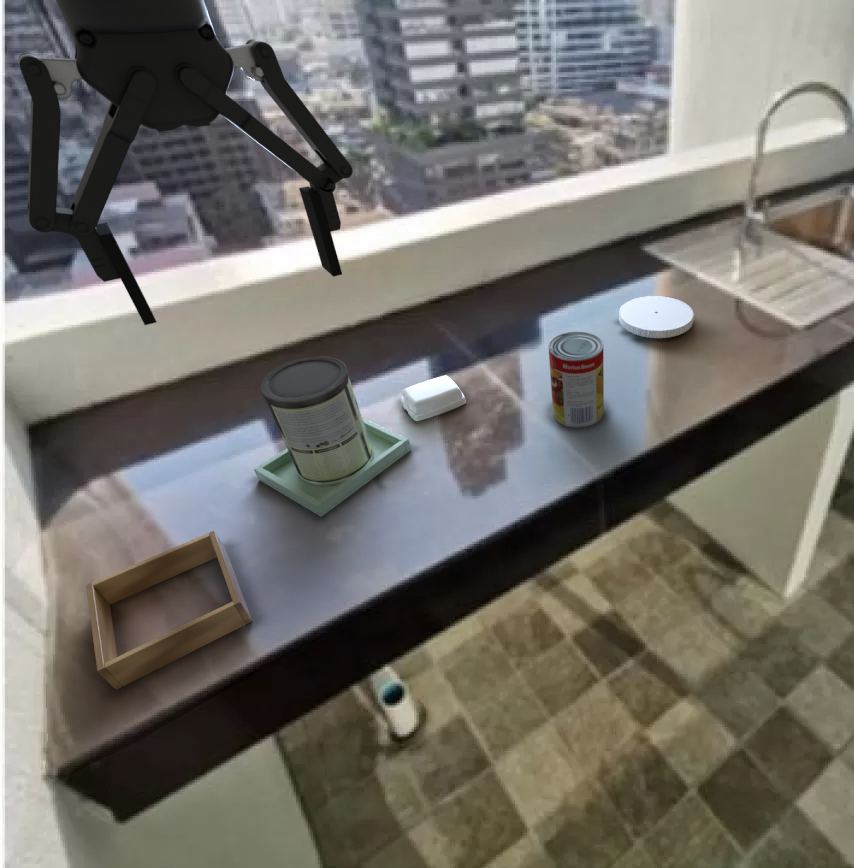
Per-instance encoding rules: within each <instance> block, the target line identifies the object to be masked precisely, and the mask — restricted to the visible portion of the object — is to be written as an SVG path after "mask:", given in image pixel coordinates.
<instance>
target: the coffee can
mask: <svg viewBox="0 0 854 868" xmlns="http://www.w3.org/2000/svg"><path fill="white" fill-rule="evenodd" d="M259 389H260V393H261V395H262V398H263V399H264V400H265V403H266V404H267V406H268V408H269V409H268V410H269V411H270V413H271V415H272V418H273V420H274V422H275V424H276V427H277V429H278V431H279V433H280V435H281V437H282V440H283V442H284V444H285V447H286V449H288V451H289V454H290V456H291V458H292V460H293V463H294V465H295V467H296V469H297V473H298V475H299V477H300V478H301V479H302V480H303V481H304V482H306V483H308V484H311V485H315V486H332V485H336V484H341V483H342V482H344V481H345V480H347V479H348V478H349V477H351V476H352V475H354V474H355V473H356V472H358V471H359V470H360V469H362V468H363V467H365V466H366V465H367V464H369V463H370V462H372V460H373V457H374V451H373V448H372V446H371V444H370V441H369V438H368V434H367V431H366V428H365V425H364V422H363V419H362V418H363V415H362V413H361V410H360V408H359V407H360V406H359V404H358V400H357V397H356V395H355V392H354V389H353V386H352V382H351V379H350V377H349V370H348V366H347V365H346V363H344V362H343V361H342V360H340V359H338V358H335V357H331V356H309V357H303V358H298V359H295V360H291V361H288V362H286V363H283V364H282V365H279V366H277V367H276V368H274V369H273V370H271V371H270V372H269V373H268V374H266V376H264V378H263V379H262V381H261V383H260V385H259Z"/></svg>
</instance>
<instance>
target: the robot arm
mask: <svg viewBox="0 0 854 868" xmlns="http://www.w3.org/2000/svg"><path fill="white" fill-rule="evenodd" d="M55 2H56V4H57V7H58V9H59V10H60V13H61V16H62V18H63V20H64V22H65V24H66V27H67V28H68V31H69V33H70V36H71V37H72V40H73V44H74V48H75V49H74V50H75V54H74V58H69V57H68V58H66V57H65V58H63V57H43V56H41V57H40V56H39V55H36V54H35V53H31V52H23V53H21V54H20V55H19V56H18V58H17V61H18V67H19V69H20V72H21V74H22V77H23V79H24V80H23V81H24V83H25V84H26V87H27V91H28V92H29V95H30V121H29V122H30V123H29V125H30V127H29V155H28V157H29V158H28V184H27V215H28V222H29V225H30V226H31V227H32V228H33V229H34V230H35V231H37V232H40V233H50V232H56V233H64V234H67V235H70V236H72V237H74V238H75V239H76V240H77V241H78V243H79V245H80V247H81V249H82V250H83V252H84V254H85V256H86V258H87V260H88V262H89V264H90V265H91V267H92V269H93V271H94V273H95V274H96V276H97V277H98V278H99V279H100V280H101V281H103V282H104V283H105V282H110V281H114V280H119V279H120V280H121V282H122V284H123V286H124V288H125V290H126V292H127V294H128V296H129V298H130V300H131V302H132V303H133V305H134V307H135V309H136V311H137V314H138V315H139V317H140V320H141V321H142V323H143V324H144V326H148V325H152V324H155V323H157V320H156V318H155V314H154V313H153V311H152V309H151V307H150V304H149V303H148V301H147V299H146V297H145V295H144V293H143V291H142V290H141V287H140V285H139V283H138V282H137V279H136V277H135V276H134V273H133V271H132V269H131V267H130V266H129V263H128V262H127V260H126V257H125V255H124V253H123V252H122V250H121V247H120V245H119V244H118V242H117V240H116V238H115V235H114V233H113V231H112V229H111V227H110V226H109V224H108V222H103V223H99V221H100V218H101V216H102V213H103V211H104V209H105V207H106V204H107V202H108V199H109V197H110V195H111V192H112V190H113V187H114V185H115V182H116V180H117V178H118V175H119V172H120V171H121V168H122V165H123V163H124V161H125V158H126V156H127V154H128V151H129V149H130V147H131V145H132V144H133V142H134V141H135V140H136V137H137V134H138V132H139V130H140V127H141V126H142V127H145V128H147V129H149V130H150V129H151V130H154V131H156V132H166V131H167V132H168V131H173V130H175V129H178V128H179V127H182V126H189V127H197V128H201V127H207V126H211V123H213V122H214V121H216V120H217V118H218V117H219V116H221V117H222V118H224V119H225V120H227V121H228V122H230V123H231V124H232V125H234V126H235V127H236V128H237V129H239V130H240V131H241V132H243V133H244V134H245V135H247V137H250V139H252V140H253V141H255V142H256V143H257V144H258V145H259V146H261V147H262V148H263V149H265V150H266V151H267V152H269V153H270V154H271V155H273V156H274V157H275V158H276V159H278V160H279V161H280V162H282V163H283V164H284V165H285V166H287V167H288V168H290V169H291V170H292V171H293V172H295V173H296V174H297V175H298V176H300V177H301V178H303V179H304V180H305V181H307V182H308V183H309V185H307V186H302V187H298V190H299V193H300V196H301V200H302V203H303V206H304V209H305V214H306V217H307V220H308V224H309V227H310V230H311V233H312V234H311V235H312V237H313V239H314V244H315V247H316V250H317V254H318V257H319V260H320V264H321V267H322V268H323V269H324V270H325V271H327V272H328V273H329V274H330V275H331V276H332V277H333V278H335V277H338V276H341V275H343V271H342V268H341V264H340V261H339V256H338V254H337V250H336V246H335V243H334V239H333V236H332V232H335V231H340V230H341V225H342V221H341V218H340V214H339V210H338V207H337V202H336V199H335V195H334V192H335V190H336V187H337V185H336V184H337V183H338V182H340V181H342V180H344V179H349V178H351V177H352V176H353V173H354V172H353V166H352V165H351V164H350V162H349V161H348V160H347V158H346V157H345V156H344V155H343V153H342V152H341V150H340V149H339V148H338V147H337V145H336V144H335V143H334V142H333V140H332V139H331V137H330V136H329V135H328V133H327V132H326V131H325V130H324V128H323V127H322V126H321V124H320V123H319V122H318V121H317V119H316V118H315V116H314V115H313V114H312V113H311V111H310V110H309V109H308V107H307V106H306V104H305V103H304V102H303V101H302V100H301V98H300V97H299V96H298V94H297V93H296V91H295V90H294V89H293V87H292V86H291V85H290V83H288V81H287V80H286V78H285V76H284V74H283V71H282V68H281V66H280V64H279V63H280V62H279V60H278V58H277V55H276V52H275V50H274V48H273V46H271V45H270V44H269V43H268V42H265V41H262V40H259V39H254V38H250V39H248V40H247V41H246V43H245V44H241V45H236V46H230V47H226V48H225V47H224V46H223V44H222V43H221V41H220V39H219V38H218V37H217V33H216V32H215V29H214V26H213V24H212V21H211V18H210V15H209V12H208V8H207V5H206V2H205V0H55ZM235 68H240V69H241V70H242V71H243V73H244V74H245V75H246V76H247V78H250V79H251V80H253V81H256V82H259V83H260V85H261V86H262V87H263V89H264V90H265V91H266V93H267V94H268V95H269V97H270V98H271V99H272V101H273V102H274V103H275V104H276V105H277V107H278V108H279V109H280V110H281V112H282V113H283V114H284V116H285V118H287V119H288V120H289V122H290V123H291V125H293V126H294V128H295V129H296V130H297V132H298V133H299V134H300V136H301V137H302V138H303V140H305V141H306V143H307V144H308V146H309V147H310V148H311V150H312V151H313V152H314V153H315V154H316V155H317V157H318V158H319V159H320V160H321V162H322V163H321V164H320V165H318V166H316V165H314V163H312V162H311V161H310V160H309V159H307V158H306V157H305V156H304V155H302V154H301V153H299V152H298V151H297V150H296V149H295V148H293V147H292V146H291V145H289V144H288V143H287V142H286V141H285V140H284V139H282V138H281V137H280V136H279V135H277V134H276V133H275V132H273V131H272V130H271V129H270V128H269V127H268V126H266V125H264V124H263V123H262V122H261V121H260V120H259V119H257V118H256V117H255V116H254V115H252V114H251V113H250V112H249V111H247V109H245V108H244V107H243V106H241V105H240V104H239V103H237V102H236V101H235V100H234V99H233V98H232V97H230V96H229V95H227V92H228V90H229V87H230V83H231V81H232V77H233V75H234V72H235V71H234V70H235ZM79 80H83V82H84V83H86V84H87V85H88V86H89V87H91V88H92V89H93V90H95V91H96V92H97V93H98V94H100V95H101V96H103V98H105V99H106V100H108V101H109V102H110V104H109V107H108V109H107V112H106V114H105V117H104V119H103V123H102V126H101V127H102V128H101V130H100V132H99V135H98V137H97V139H96V142H95V144H94V146H93V149H92V151H91V155H90V157H89V159H88V162H87V165H86V167H85V169H84V172H83V174H82V176H81V179H80V181H79V184H78V186H77V188H76V191H75V193H74V196H73V198H72V201H71V203H70V206H69V207H68V208H65V207H59V206H57V200H58V180H59V159H60V158H59V157H60V141H61V140H60V139H61V119H62V115H61V106H60V100H67V99H69V98H70V97H71V96H72V93H73V90H72V89H73V84H74V83H75V82H76V81H79Z"/></svg>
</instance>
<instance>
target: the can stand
mask: <svg viewBox="0 0 854 868" xmlns="http://www.w3.org/2000/svg"><path fill="white" fill-rule="evenodd" d="M215 559H217V561H218V564H219V566H220V570H221V573H222V575H223V577H224V580H225V584H226V586H227V589H228V592H229V595H230V597H231V602H228V603H227V604H225V605H222V606H220V607H218V608H215V609H214V610H211V611H209V612H208V613H205V614H204V615H202V616H199V617H197V618H195V619H193V620H192V621H189V622H187V623H185V624H183V625H181V626H179V627H177V628H175V629H173V630H171V631H168V632H166V633H164V634H162V635H160V636H158V637H155V638H154V639H152V640H149V641H148V642H146V643H143V644H142V645H141V644H140V645H139V646H137V647H135V648H133V649H131V650H129V651H127V652H125V653H122V654H120V655H118V649H117V642H116V636H115V630H114V624H113V623H114V622H113V618H112V612H111V605H113V604H115V603H117V602H119V601H122V600H124V599H126V598H128V597H131V596H133V595H135V594H137V593H140V592H142V591H144V590H147V589H150V588H151V587H153V586H157V585H158V584H160V583H163V582H165V581H167V580H169V579H172V578H173V577H176V576H178V575H181V574H182V573H186V572H187V571H190V570H192V569H194V568H196V567H198V566H200V565H203V564H206V563H208V562H209V561H212V560H215ZM85 588H86V595H87V603H88V611H89V618H90V627H91V633H92V634H91V635H92V641H93V648H94V657H95V664H96V672H97V673H98V674H99V675H100V676H101V677H102V678H103V679H104V680H105V681H107V683H108V684H109V685H110V686H111V687H112V688H113V689H114V690H116V691H117V690H119V689H121V688H123V687H125V686H127V685H129V684H131V683H133V682H135V681H137V680H139V679H141V678H143V677H145V676H147V675H149V674H152V672H154V671H157V670H159V669H161V668H162V667H165V666H167V665H169V664H171V663H173V662H175V661H176V660H179V659H180V658H182V657H185V656H186V655H189V654H190V653H192V652H194V651H197V650H199V649H201V648H202V647H204V646H206V645H208V644H210V643H213V642H215V641H216V640H219V639H220V638H223V637H224V636H226V635H228V634H230V633H232V632H234V631H237V630H238V629H240V628H243V627H244V626H246V625H248V624H251V623H252V622H253V620H252V615H251V613H250V611H249V609H248V605H247V603H246V600H245V597H244V595H243V593H242V589H241V586H240V585H239V581H238V578H237V576H236V572H235V571H234V568H233V566H232V562H231V560H230V557H229V554H228V552H227V549H226V548H225V546H224V544H223V543H222V541H221V539H220V538H219V536H218V535H217V533H216V531H215V530H212V531H210V532H207V533H205V534H203V535H200V536H198V537H196V538H194V539H191V540H188V541H186V542H184V543H181V544H179V545H178V546H175V547H172V548H170V549H168V550H167V549H166V550H165V551H162V552H161V553H158V554H156V555H154V556H151V557H149V558H146V559H144V560H141V561H139V562H137V563H135V564H132V565H130V566H128V567H125V568H123V569H119V570H118V571H115V572H113V573H111V574H109V575H107V576H104V577H102V578H99V579H97V580H95V581H93V582H90V583H87V584H86V585H85Z"/></svg>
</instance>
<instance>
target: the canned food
mask: <svg viewBox="0 0 854 868" xmlns="http://www.w3.org/2000/svg"><path fill="white" fill-rule="evenodd" d="M548 360H549V361H548V362H549V371H550V372H549V374H550V389H551V390H550V391H551V402H552V415H553V418H554V419H555V421H557V422H558V423H559V424H560V425H563V426H565V427H570V428H576V429H577V428H579V429H580V428H585V427H591V426H593V425H595V424H596V423H598V422H599V421H600V420H601V419H602V417H603V416H604V412H605V411H604V409H605V408H604V407H605V405H604V394H605V393H604V391H605V389H604V379H605V377H604V373H605V372H604V343H603V340H602V339H601V338H600V337H599V336H597V335H595V334H593V333H591V332H586V331H568V332H563V333H561V334H558V335H556V336H554V337H553V338H552V339H551V340H550V341H549V343H548Z"/></svg>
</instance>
